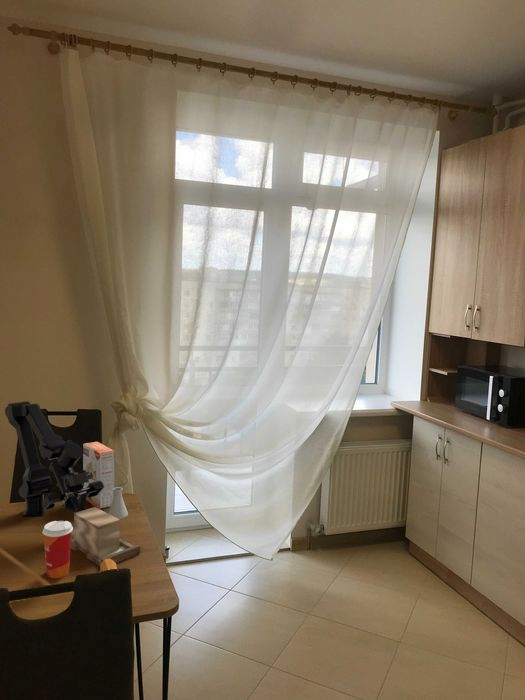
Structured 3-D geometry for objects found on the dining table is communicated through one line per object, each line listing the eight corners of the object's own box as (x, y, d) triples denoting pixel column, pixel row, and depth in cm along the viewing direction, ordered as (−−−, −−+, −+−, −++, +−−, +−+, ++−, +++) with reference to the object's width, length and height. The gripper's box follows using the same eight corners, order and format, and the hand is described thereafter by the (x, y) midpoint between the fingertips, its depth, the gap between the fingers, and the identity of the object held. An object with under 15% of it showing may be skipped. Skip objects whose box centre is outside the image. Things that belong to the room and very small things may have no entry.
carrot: (102, 574, 153) (95, 561, 152) (117, 565, 155) (111, 553, 153) (116, 620, 136) (109, 606, 134) (133, 610, 137) (127, 596, 136)
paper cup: (47, 568, 153) (47, 519, 152) (76, 568, 154) (76, 519, 153) (38, 583, 146) (38, 531, 144) (68, 583, 146) (68, 531, 145)
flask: (122, 522, 185) (123, 493, 184) (102, 520, 186) (102, 491, 185) (132, 514, 192) (132, 486, 191) (112, 512, 193) (112, 484, 192)
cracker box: (82, 499, 204) (82, 443, 202) (97, 495, 208) (98, 440, 206) (98, 511, 193) (98, 452, 191) (114, 507, 197) (115, 449, 195)
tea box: (73, 542, 168) (74, 513, 167) (94, 535, 173) (94, 506, 172) (98, 557, 159) (98, 526, 158) (119, 549, 164) (119, 519, 163)
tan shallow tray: (38, 545, 166) (38, 536, 166) (103, 523, 183) (103, 515, 183) (86, 577, 150) (86, 566, 149) (153, 550, 166) (153, 540, 166)
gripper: (46, 468, 164) (65, 515, 158) (101, 455, 179) (121, 498, 173) (33, 487, 170) (51, 533, 164) (87, 473, 184) (106, 515, 178)
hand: (84, 519), depth 170 cm, fingers closed
